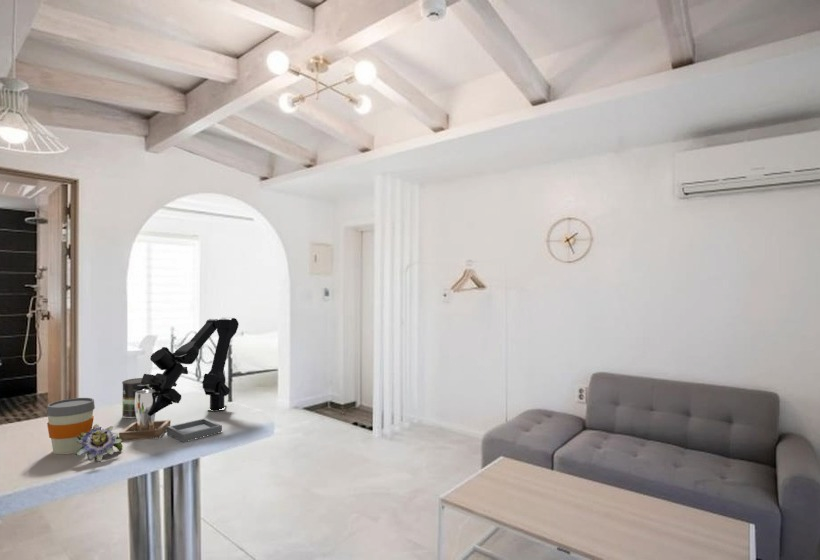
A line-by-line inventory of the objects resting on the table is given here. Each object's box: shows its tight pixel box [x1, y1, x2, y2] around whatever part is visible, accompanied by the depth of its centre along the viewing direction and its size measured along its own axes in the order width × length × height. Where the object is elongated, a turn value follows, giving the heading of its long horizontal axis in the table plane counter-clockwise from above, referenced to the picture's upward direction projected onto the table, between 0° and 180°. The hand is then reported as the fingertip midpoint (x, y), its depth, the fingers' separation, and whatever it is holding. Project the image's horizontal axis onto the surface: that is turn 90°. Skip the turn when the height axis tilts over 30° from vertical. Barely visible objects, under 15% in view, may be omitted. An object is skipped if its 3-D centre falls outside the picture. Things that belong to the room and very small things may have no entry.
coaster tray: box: [166, 417, 223, 443], centre depth 161 cm, size 14×14×2 cm
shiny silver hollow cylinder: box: [135, 388, 157, 431], centre depth 161 cm, size 7×7×15 cm
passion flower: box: [74, 423, 123, 463], centre depth 139 cm, size 11×11×12 cm
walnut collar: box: [118, 419, 171, 441], centre depth 161 cm, size 12×12×2 cm
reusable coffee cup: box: [45, 397, 96, 455], centre depth 146 cm, size 13×12×15 cm
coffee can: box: [121, 377, 152, 419], centre depth 183 cm, size 10×10×14 cm
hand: (142, 414), depth 160 cm, fingers closed on shiny silver hollow cylinder, 6 cm apart
